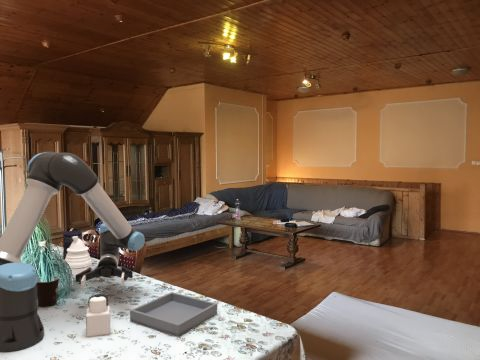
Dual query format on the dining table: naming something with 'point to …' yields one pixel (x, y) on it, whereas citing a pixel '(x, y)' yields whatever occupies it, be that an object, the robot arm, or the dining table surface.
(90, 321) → the medicine bottle
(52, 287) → the brown plant pot
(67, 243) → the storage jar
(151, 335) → the dining table surface
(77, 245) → the honey pot
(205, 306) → the box
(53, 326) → the dining table surface
